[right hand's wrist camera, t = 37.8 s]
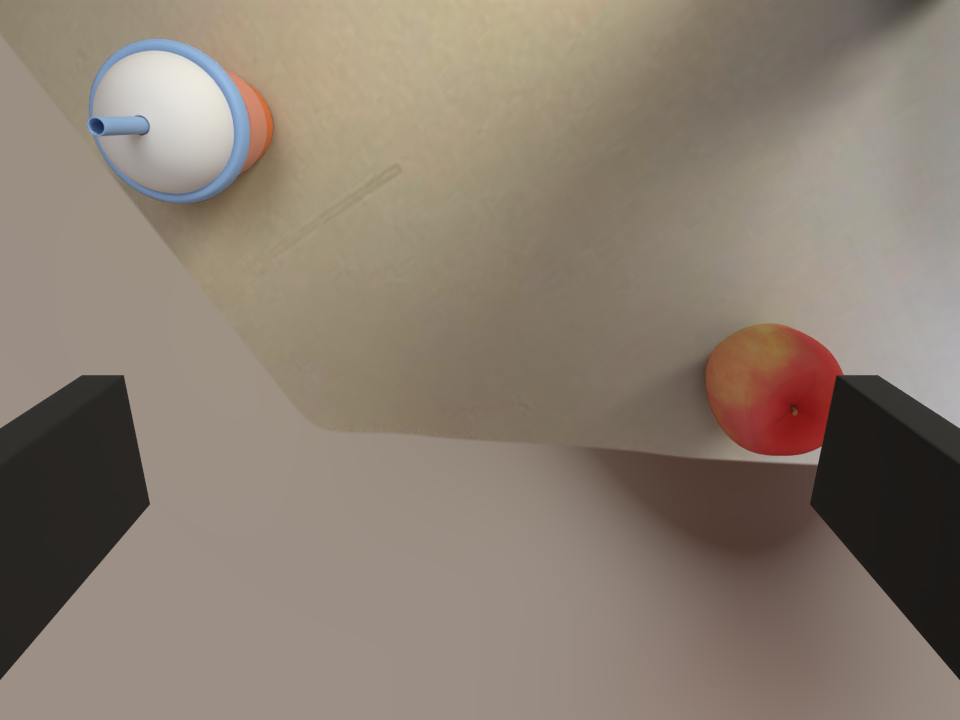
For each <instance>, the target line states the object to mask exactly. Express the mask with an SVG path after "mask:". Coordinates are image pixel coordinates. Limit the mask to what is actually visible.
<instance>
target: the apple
mask: <svg viewBox="0 0 960 720" xmlns="http://www.w3.org/2000/svg"><path fill="white" fill-rule="evenodd" d="M836 375H843V373H842V370H841V368H840V366H839V364H838V362H837V361H836V359H835V358H834V356H833V355H832V354H831V353H830V351H829V350H828V349H827V348H826V347H824V346H823V345H822V344H821V343H819V342H818V341H816V340H815V339H813V338H812V337H810V336H808V335H806V334H804V333H802V332H800V331H797V330H795V329H792V328H790V327H787V326H783V325H778V324H761V325H755V326H750V327H747V328H744V329H742V330H740V331H738V332H736V333H734V334H733V335H731V336H729V337H728V338H727V339H725V340H724V341H723V342H721V343H720V344H719V345H718V346H717V347H716V348H715V349H714V351H713V352H712V354H711V355H710V358H709V360H708V363H707V368H706V390H707V395H708V399H709V403H710V406H711V409H712V412H713V414H714V416H715V418H716V420H717V422H718V423H719V425H720V426H721V428H722V429H723V431H724V432H725V433H726V434H727V435H728V436H729V437H730V438H731V439H732V440H733V441H734V442H735V443H737V444H738V445H739V446H741V447H743V448H745V449H747V450H749V451H751V452H754V453H758V454H763V455H771V456H790V455H799V454H804V453H807V452H810V451H813V450H815V449H817V448H819V447H821V446H822V443H823V438H824V433H825V429H826V424H827V419H828V414H829V409H830V404H831V399H832V394H833V389H834V384H835V379H836Z"/></svg>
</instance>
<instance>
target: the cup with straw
mask: <svg viewBox="0 0 960 720" xmlns="http://www.w3.org/2000/svg"><path fill="white" fill-rule="evenodd" d="M89 117H90V118H89V119H88V121H87V128H88V130H89V132H90V133H91V134H93V136H94V139H95V141H96V144H97V146H98V148H99V150H100V152H101V154H102V156H103V157H104V159H105V160H106V162H107V163H108V165H109V166H110V167H111V168H112V170H113V171H114V172H115V173H116V174H117V175H118V176H119V177H120V178H121V179H122V180H123V181H125V182H126V183H127V184H128V185H130V186H131V187H132V188H134V189H135V190H137V191H139V192H140V193H142V194H144V195H146V196H149V197H151V198H154V199H156V200H160V201H164V202H169V203H177V204H189V203H196V202H200V201H204V200H207V199H210V198H212V197H214V196H216V195H218V194H219V193H221V192H222V191H224V190H225V189H226V188H227V187H229V186H230V185H231V184H232V183H233V181H234V180H235V179H236V178H237V176H238V175H239V174H240V173H242V172H244V171H246V170H247V169H248V168H250V167H251V166H252V165H253V164H254V163H255V162H256V161H257V160H258V159H260V158H261V157H262V156H263V155H264V153H265V152H266V151H267V149H268V147H269V145H270V143H271V139H272V134H273V121H272V116H271V113H270V110H269V108H268V105H267V104H266V102H265V100H264V99H263V97H262V96H261V95H260V94H259V93H258V92H257V91H256V90H255V89H254V88H253V87H252V86H250V85H249V84H247V83H245V82H244V81H243V80H242V79H241V78H239V77H238V76H236V75H235V74H233V73H231V72H229V71H227V70H225V69H223V68H222V67H221V66H220V65H219V64H218V63H217V62H216V61H214V60H213V59H212V58H211V57H209V56H208V55H206V54H205V53H203V52H202V51H200V50H198V49H196V48H194V47H192V46H190V45H187V44H185V43H181V42H178V41H174V40H168V39H147V40H141V41H137V42H134V43H131V44H129V45H126V46H125V47H123V48H121V49H119V50H118V51H116V52H115V53H114V54H112V55H111V56H110V57H109V58H108V59H107V60H106V62H105V63H104V64H103V65H102V67H101V68H100V70H99V71H98V73H97V75H96V77H95V80H94V82H93V85H92V89H91V93H90V99H89Z"/></svg>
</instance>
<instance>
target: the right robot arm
mask: <svg viewBox="0 0 960 720" xmlns="http://www.w3.org/2000/svg"><path fill="white" fill-rule="evenodd" d="M149 505H150V502H149V498H148V492H147V487H146V483H145V478H144V473H143V468H142V463H141V458H140V453H139V448H138V443H137V438H136V434H135V429H134V424H133V419H132V414H131V409H130V404H129V399H128V394H127V389H126V384H125V380H124V376H123V375H82V376H80V377H79V378H77V379H76V380H74V381H73V382H71V383H70V384H68V385H66V386H65V387H63V388H62V389H60V390H59V391H57V392H56V393H54V394H53V395H51V396H50V397H48V398H46V399H45V400H43V401H42V402H40V403H39V404H37V405H36V406H34V407H33V408H31V409H30V410H28V411H26V412H25V413H23V414H22V415H20V416H19V417H17V418H16V419H14V420H13V421H11V422H10V423H8V424H6V425H5V426H3V427H2V428H0V679H1V678H2V677H3V676H4V675H5V674H6V672H7V671H8V670H9V669H10V668H11V667H12V665H13V664H14V663H15V662H16V661H17V660H18V658H19V657H20V656H21V655H22V654H23V653H24V651H25V650H26V649H27V648H28V647H29V646H30V644H31V643H32V642H33V641H34V640H35V638H36V637H37V636H38V635H39V634H40V633H41V631H42V630H43V629H44V628H45V627H46V626H47V624H48V623H49V622H50V621H51V620H52V619H53V617H54V616H55V615H56V614H57V613H58V612H59V610H60V609H61V608H62V607H63V606H64V604H65V603H66V602H67V601H68V600H69V599H70V597H71V596H72V595H73V594H74V593H75V592H76V590H77V589H78V588H79V587H80V586H81V584H82V583H83V582H84V581H85V580H86V579H87V577H88V576H89V575H90V574H91V573H92V572H93V570H94V569H95V568H96V567H97V566H98V565H99V563H100V562H101V561H102V560H103V559H104V558H105V556H106V555H107V554H108V553H109V552H110V550H111V549H112V548H113V547H114V546H115V545H116V543H117V542H118V541H119V540H120V539H121V538H122V536H123V535H124V534H125V533H126V532H127V531H128V529H129V528H130V527H131V526H132V525H133V524H134V522H135V521H136V520H137V519H138V518H139V516H140V515H141V514H142V513H143V512H144V511H145V509H146V508H147V507H148V506H149ZM810 505H811V506H812V507H813V508H814V509H815V511H816V512H817V513H818V514H819V515H820V516H821V518H822V519H823V520H824V521H825V522H826V524H827V525H828V526H829V527H830V528H831V529H832V531H833V532H834V533H835V534H836V535H837V536H838V538H839V539H840V540H841V541H842V542H843V543H844V545H845V546H846V547H847V548H848V549H849V550H850V552H851V553H852V554H853V555H854V556H855V558H856V559H857V560H858V561H859V562H860V563H861V564H862V566H863V567H864V568H865V569H866V570H867V572H868V573H869V574H870V575H871V576H872V577H873V579H874V580H875V581H876V582H877V583H878V584H879V586H880V587H881V588H882V589H883V590H884V592H885V593H886V594H887V595H888V596H889V597H890V599H891V600H892V601H893V602H894V603H895V604H896V606H897V607H898V608H899V609H900V610H901V612H902V613H903V614H904V615H905V616H906V617H907V619H908V620H909V621H910V622H911V623H912V624H913V626H914V627H915V628H916V629H917V630H918V631H919V633H920V634H921V635H922V636H923V637H924V638H925V640H926V641H927V642H928V643H929V644H930V646H931V647H932V648H933V649H934V650H935V651H936V653H937V654H938V655H939V656H940V657H941V658H942V660H943V661H944V662H945V663H946V664H947V665H948V667H949V668H950V669H951V670H952V671H953V673H954V674H955V675H956V676H957V677H958V678H959V680H960V428H958V427H957V426H955V425H954V424H952V423H950V422H949V421H947V420H946V419H944V418H943V417H941V416H940V415H938V414H937V413H935V412H934V411H932V410H930V409H929V408H927V407H926V406H924V405H923V404H921V403H920V402H918V401H917V400H915V399H914V398H912V397H910V396H909V395H907V394H906V393H904V392H903V391H901V390H900V389H898V388H897V387H895V386H894V385H892V384H890V383H889V382H887V381H886V380H884V379H883V378H881V377H880V376H878V375H836V379H835V384H834V389H833V394H832V399H831V404H830V409H829V414H828V419H827V424H826V429H825V433H824V438H823V443H822V448H821V453H820V458H819V463H818V468H817V473H816V478H815V483H814V488H813V492H812V497H811V502H810Z"/></svg>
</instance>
